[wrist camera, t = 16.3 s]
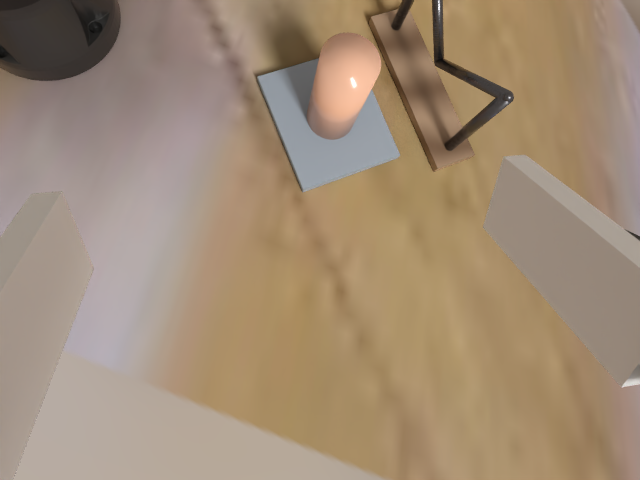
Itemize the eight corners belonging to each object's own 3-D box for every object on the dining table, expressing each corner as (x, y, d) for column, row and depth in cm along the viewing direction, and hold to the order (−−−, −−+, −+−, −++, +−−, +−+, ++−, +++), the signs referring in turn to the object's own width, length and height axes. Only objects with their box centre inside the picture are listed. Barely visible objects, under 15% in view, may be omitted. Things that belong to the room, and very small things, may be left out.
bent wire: (389, 22, 50) (429, -67, 38) (398, 20, 50) (440, -69, 38) (447, 152, 49) (507, 102, 37) (456, 149, 49) (519, 98, 37)
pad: (257, 81, 48) (257, 76, 47) (351, 52, 50) (353, 47, 49) (302, 192, 47) (303, 189, 46) (397, 158, 49) (400, 155, 48)
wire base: (368, 23, 51) (370, 16, 50) (404, 12, 52) (407, 6, 51) (433, 171, 49) (437, 168, 48) (469, 158, 50) (474, 154, 49)
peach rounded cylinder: (299, 101, 47) (310, 41, 37) (343, 88, 48) (367, 26, 38) (317, 145, 47) (333, 97, 36) (361, 131, 48) (390, 80, 37)
